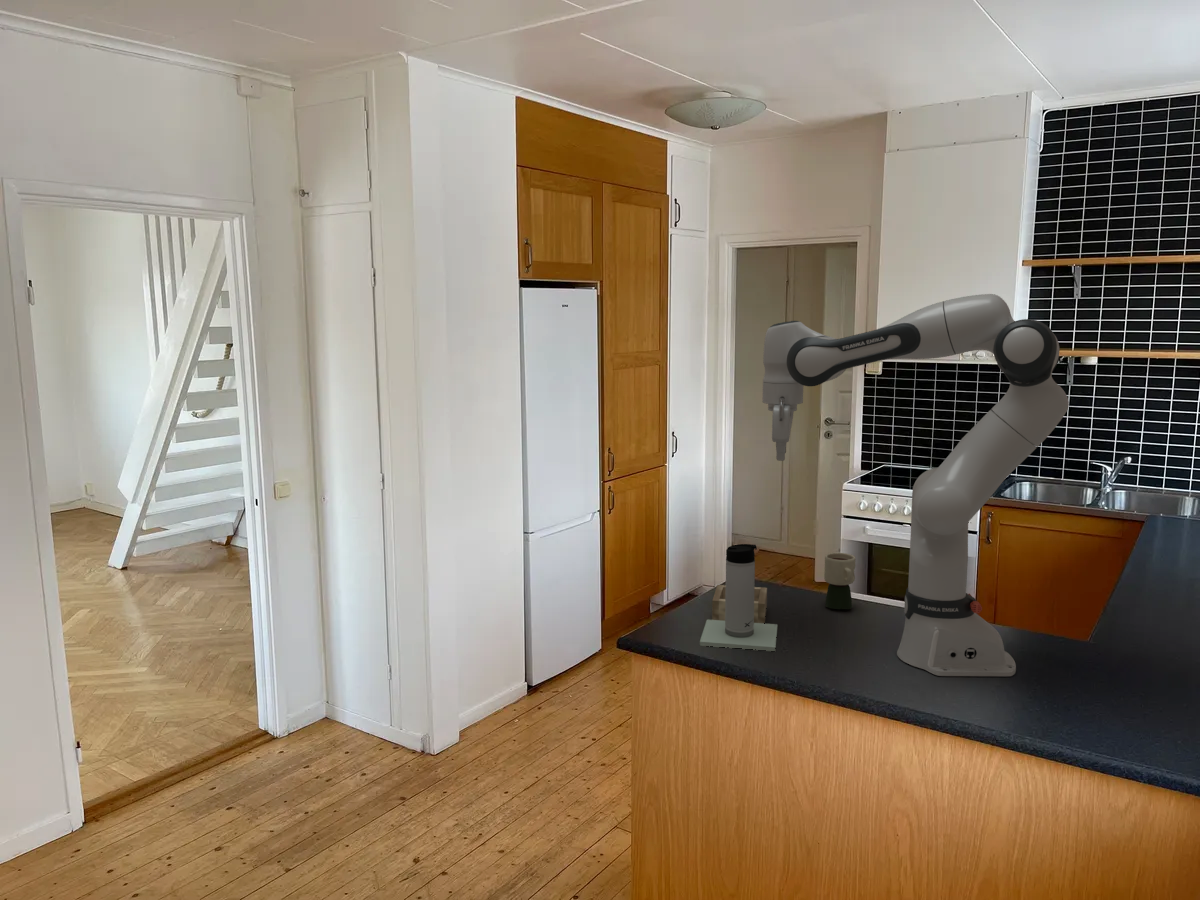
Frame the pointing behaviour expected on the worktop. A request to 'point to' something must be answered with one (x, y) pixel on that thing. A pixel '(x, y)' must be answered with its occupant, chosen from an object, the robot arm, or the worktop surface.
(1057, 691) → the worktop surface
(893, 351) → the robot arm
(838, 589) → the character mug
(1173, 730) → the worktop surface
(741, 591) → the travel mug
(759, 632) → the sage mat
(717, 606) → the birch holder
